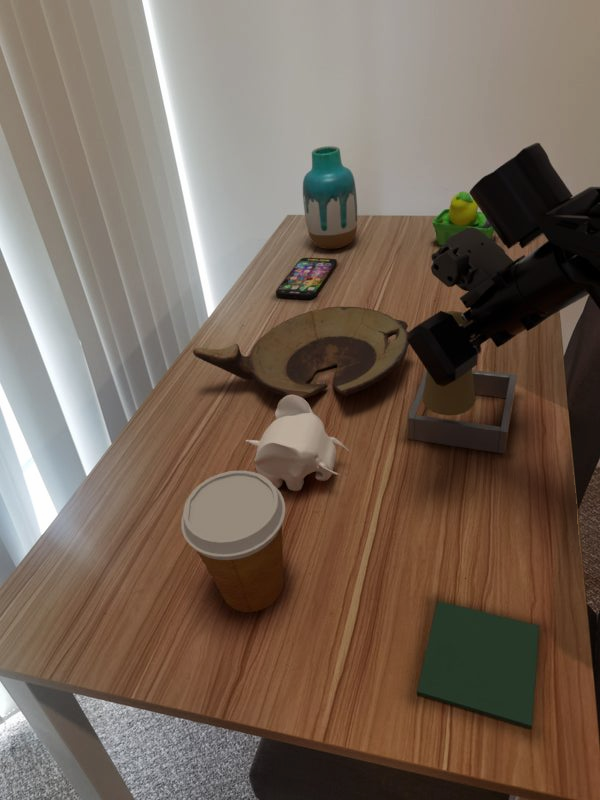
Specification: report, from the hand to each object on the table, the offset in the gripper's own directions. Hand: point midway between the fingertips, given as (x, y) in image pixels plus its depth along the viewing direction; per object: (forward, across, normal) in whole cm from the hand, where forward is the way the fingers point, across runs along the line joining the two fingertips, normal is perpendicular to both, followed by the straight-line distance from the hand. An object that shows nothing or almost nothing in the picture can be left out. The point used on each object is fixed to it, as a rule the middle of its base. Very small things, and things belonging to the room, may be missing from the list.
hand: (440, 348), depth 67 cm
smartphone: (+41, -19, -24) cm, 51 cm away
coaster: (-6, +21, +24) cm, 32 cm away
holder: (+9, -5, +9) cm, 14 cm away
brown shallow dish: (+25, +1, -7) cm, 26 cm away
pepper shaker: (+4, 0, +6) cm, 7 cm away
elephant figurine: (+15, +16, +4) cm, 22 cm away
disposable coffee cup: (+9, +30, +10) cm, 33 cm away
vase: (+47, -33, -29) cm, 64 cm away
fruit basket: (+32, -48, -14) cm, 59 cm away
